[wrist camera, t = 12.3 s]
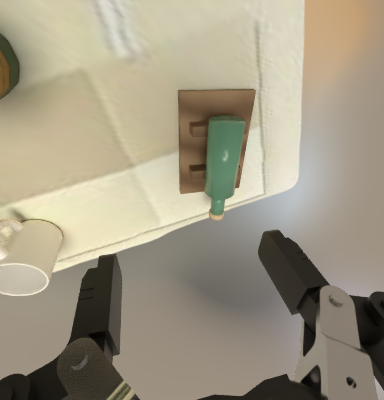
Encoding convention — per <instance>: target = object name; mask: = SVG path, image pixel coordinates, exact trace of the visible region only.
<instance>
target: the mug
mask: <svg viewBox="0 0 384 400" xmlns="http://www.w3.org/2000/svg"><path fill="white" fill-rule="evenodd" d="M5 226H8V227H10V228H12V229H13V231H12V232H11V234H10V235H9V237H8V239H7V240H6V242H5V243H4V245H3V246H2V245H1V243H0V293H2V294H6V295H12V296H26V295H32V294H36V293H38V292H40V291H42V290H43V289H45V288H46V287H47V285H48V283H49V280H50V277H51V274H52V271H53V268H54V265H55V262H56V259H57V256H58V253H59V250H60V247H61V244H62V240H63V236H62V233H61V231H60V230H59V229H58V228H57V227H56V226H55V225H53V224H51V223H49V222H46V221H42V220H28V221H24V222H22V223H20V222H18V221H16V220H13V219H9V218H6V219H1V220H0V231H1V229H2V228H3V227H5Z"/></svg>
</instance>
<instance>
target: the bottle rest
mask: <svg viewBox="0 0 384 400" xmlns="http://www.w3.org/2000/svg"><path fill="white" fill-rule="evenodd" d="M255 93H256V90H254V89H226V90H178V100H179V170H180V193H181V194H185V193H194V192H203V191H204V187H205V171H206V156H207V140H208V125H209V118H211V117H213V116H219V115H229V116H236V117H240V118H242V119H244V120H245V121H246V123H245V129H244V135H243V141H242V148H241V154H240V160H239V166H238V172H237V178H236V185H235V188H239V184H240V179H241V173H242V167H243V161H244V156H245V150H246V144H247V139H248V133H249V127H250V121H251V116H252V110H253V104H254V99H255Z"/></svg>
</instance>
